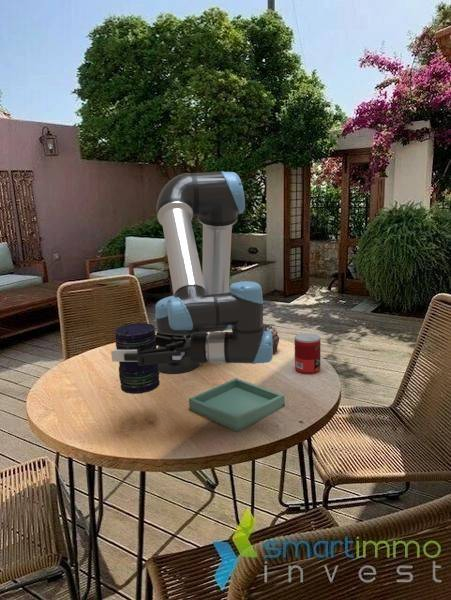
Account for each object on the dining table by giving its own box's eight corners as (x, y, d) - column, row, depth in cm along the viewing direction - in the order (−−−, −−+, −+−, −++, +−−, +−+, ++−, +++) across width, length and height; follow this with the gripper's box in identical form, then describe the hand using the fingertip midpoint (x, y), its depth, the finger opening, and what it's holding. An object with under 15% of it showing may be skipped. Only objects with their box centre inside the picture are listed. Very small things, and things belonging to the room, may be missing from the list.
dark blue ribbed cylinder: (138, 375, 122) (133, 321, 119) (168, 381, 118) (163, 325, 114) (112, 389, 114) (105, 332, 111) (142, 397, 109) (136, 337, 106)
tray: (189, 409, 123) (188, 398, 123) (236, 387, 135) (236, 377, 135) (237, 431, 111) (236, 420, 110) (284, 405, 123) (284, 395, 122)
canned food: (320, 375, 141) (320, 341, 139) (294, 374, 143) (293, 340, 140) (320, 365, 149) (320, 333, 146) (295, 364, 150) (295, 332, 148)
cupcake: (254, 347, 169) (253, 321, 166) (280, 347, 167) (280, 321, 164) (250, 356, 160) (249, 329, 157) (278, 357, 158) (277, 329, 155)
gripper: (201, 381, 101) (104, 380, 104) (215, 346, 123) (135, 346, 126) (199, 348, 99) (100, 349, 102) (214, 319, 121) (132, 320, 124)
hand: (119, 347), depth 114 cm, fingers closed on dark blue ribbed cylinder, 10 cm apart
